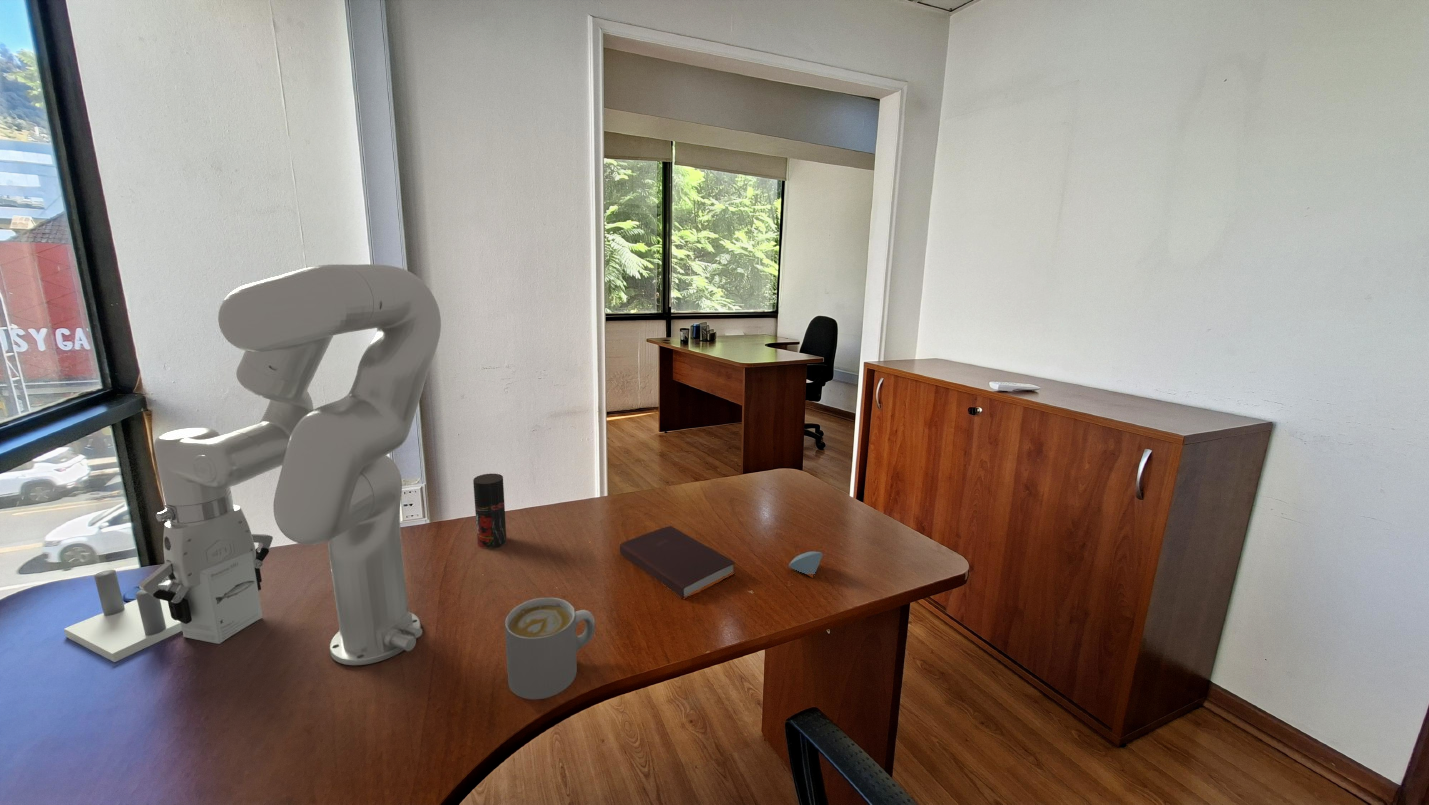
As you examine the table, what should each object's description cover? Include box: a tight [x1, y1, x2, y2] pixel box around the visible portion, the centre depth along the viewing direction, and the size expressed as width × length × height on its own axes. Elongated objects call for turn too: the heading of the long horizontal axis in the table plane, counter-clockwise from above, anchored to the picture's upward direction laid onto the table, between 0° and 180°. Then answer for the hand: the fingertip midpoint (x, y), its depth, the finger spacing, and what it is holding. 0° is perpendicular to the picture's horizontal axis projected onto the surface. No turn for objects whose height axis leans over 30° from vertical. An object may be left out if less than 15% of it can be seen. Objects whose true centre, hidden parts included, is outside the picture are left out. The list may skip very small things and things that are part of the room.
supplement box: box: [181, 551, 264, 645], centre depth 90 cm, size 7×7×13 cm
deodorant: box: [472, 473, 507, 550], centre depth 121 cm, size 6×6×15 cm
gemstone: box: [788, 550, 824, 575], centre depth 114 cm, size 8×8×5 cm
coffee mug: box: [504, 596, 596, 700], centre depth 84 cm, size 13×10×10 cm
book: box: [619, 525, 736, 598], centre depth 116 cm, size 14×22×4 cm, turn 42°
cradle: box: [63, 569, 182, 663], centre depth 90 cm, size 14×11×8 cm
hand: (220, 604), depth 91 cm, fingers open, 9 cm apart
